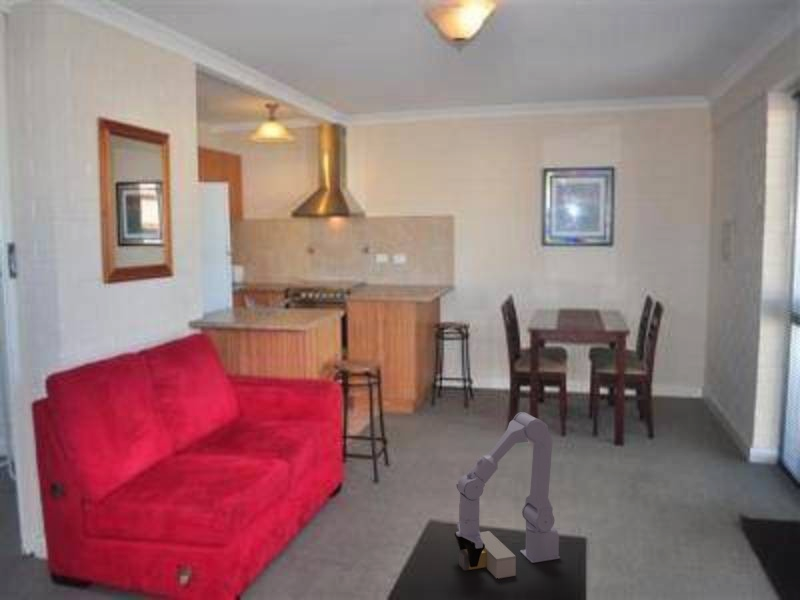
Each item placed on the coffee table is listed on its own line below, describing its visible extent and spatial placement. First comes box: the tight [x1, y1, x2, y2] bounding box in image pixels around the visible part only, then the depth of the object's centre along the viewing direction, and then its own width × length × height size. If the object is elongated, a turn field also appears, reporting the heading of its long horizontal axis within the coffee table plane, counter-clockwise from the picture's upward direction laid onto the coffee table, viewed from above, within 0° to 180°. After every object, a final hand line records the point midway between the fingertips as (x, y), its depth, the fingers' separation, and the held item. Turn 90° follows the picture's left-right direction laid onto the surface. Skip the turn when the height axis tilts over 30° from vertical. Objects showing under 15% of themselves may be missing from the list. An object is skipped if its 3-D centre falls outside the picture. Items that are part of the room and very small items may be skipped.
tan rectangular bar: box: [458, 549, 487, 571], centre depth 208 cm, size 12×4×4 cm, turn 108°
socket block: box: [471, 530, 517, 579], centre depth 209 cm, size 6×18×6 cm, turn 18°
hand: (469, 561), depth 207 cm, fingers open, 6 cm apart
